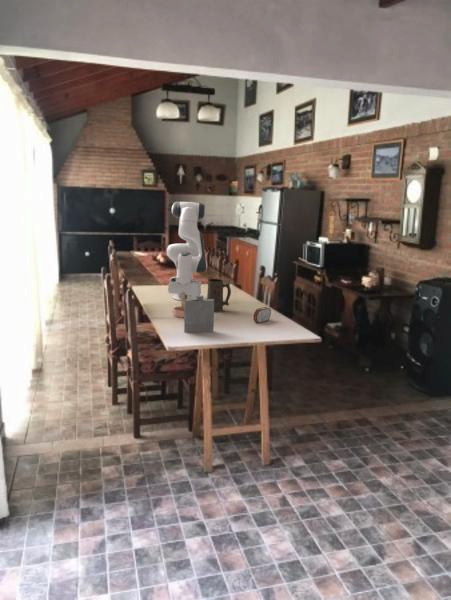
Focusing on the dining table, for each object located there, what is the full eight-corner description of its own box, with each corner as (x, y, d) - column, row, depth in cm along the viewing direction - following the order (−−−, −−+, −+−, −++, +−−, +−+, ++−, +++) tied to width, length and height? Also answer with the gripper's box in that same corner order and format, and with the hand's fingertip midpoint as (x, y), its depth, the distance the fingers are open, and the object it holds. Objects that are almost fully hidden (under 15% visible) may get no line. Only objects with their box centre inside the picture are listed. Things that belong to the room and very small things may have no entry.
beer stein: (207, 312, 313) (210, 280, 309) (203, 308, 323) (206, 278, 320) (230, 313, 318) (233, 282, 314) (226, 309, 328) (229, 279, 324)
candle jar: (177, 311, 312) (178, 305, 311) (197, 313, 308) (198, 307, 308) (169, 316, 299) (169, 309, 299) (190, 318, 296) (190, 312, 295)
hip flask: (212, 330, 272) (213, 294, 268) (214, 332, 268) (215, 296, 264) (183, 331, 268) (184, 294, 264) (184, 333, 265) (185, 296, 260)
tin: (267, 319, 301) (267, 305, 300) (271, 320, 300) (272, 306, 298) (252, 323, 290) (253, 309, 288) (256, 324, 288) (257, 310, 286)
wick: (183, 307, 305) (184, 291, 303) (186, 307, 304) (187, 291, 302) (181, 308, 301) (181, 292, 299) (184, 309, 301) (184, 292, 299)
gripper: (202, 279, 299) (202, 302, 302) (171, 277, 305) (170, 299, 308) (199, 281, 294) (198, 304, 296) (167, 278, 299) (166, 301, 302)
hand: (184, 301), depth 302 cm, fingers closed on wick, 2 cm apart
